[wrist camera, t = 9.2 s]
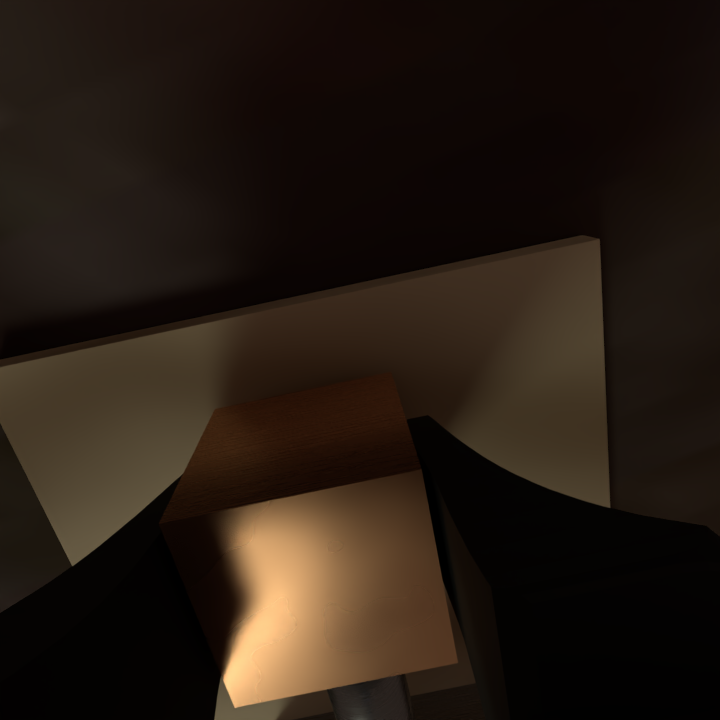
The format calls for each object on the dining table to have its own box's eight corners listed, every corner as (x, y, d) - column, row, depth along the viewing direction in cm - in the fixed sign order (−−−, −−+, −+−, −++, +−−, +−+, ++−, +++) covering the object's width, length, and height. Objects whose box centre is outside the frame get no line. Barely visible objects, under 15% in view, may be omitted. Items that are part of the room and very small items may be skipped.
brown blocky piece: (464, 744, 16) (507, 925, 12) (336, 770, 16) (338, 957, 12) (390, 371, 11) (421, 469, 8) (214, 408, 11) (158, 523, 8)
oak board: (609, 775, 19) (621, 800, 18) (233, 848, 19) (228, 876, 18) (582, 235, 12) (599, 239, 11) (-3, 360, 12) (-26, 372, 11)
